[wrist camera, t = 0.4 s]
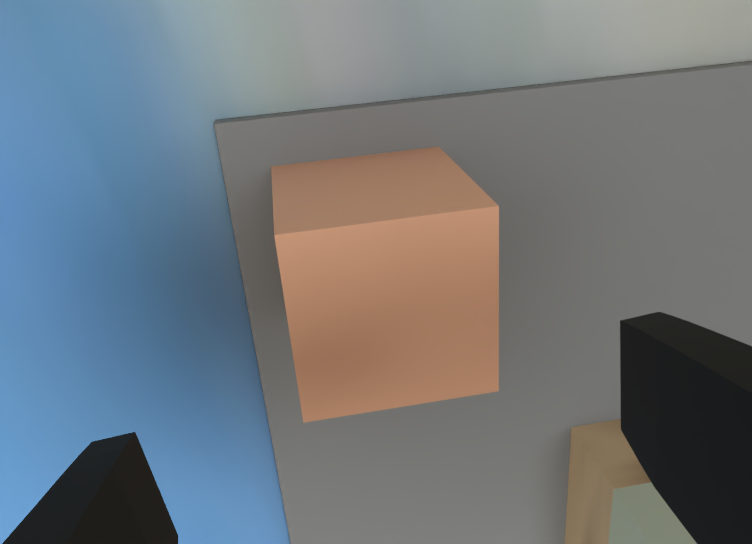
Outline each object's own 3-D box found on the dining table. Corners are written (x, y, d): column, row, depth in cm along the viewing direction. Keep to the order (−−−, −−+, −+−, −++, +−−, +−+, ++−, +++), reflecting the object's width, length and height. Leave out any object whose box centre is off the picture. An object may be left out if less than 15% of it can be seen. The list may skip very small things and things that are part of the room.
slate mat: (816, 54, 19) (830, 55, 18) (721, 539, 27) (728, 548, 26) (215, 120, 17) (214, 124, 17) (306, 619, 25) (306, 631, 25)
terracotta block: (438, 146, 18) (498, 205, 13) (444, 295, 20) (498, 391, 15) (271, 166, 17) (274, 235, 13) (293, 316, 19) (303, 422, 15)
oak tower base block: (734, 399, 23) (796, 455, 20) (711, 525, 26) (763, 590, 23) (571, 427, 23) (613, 489, 20) (564, 553, 25) (600, 623, 22)
